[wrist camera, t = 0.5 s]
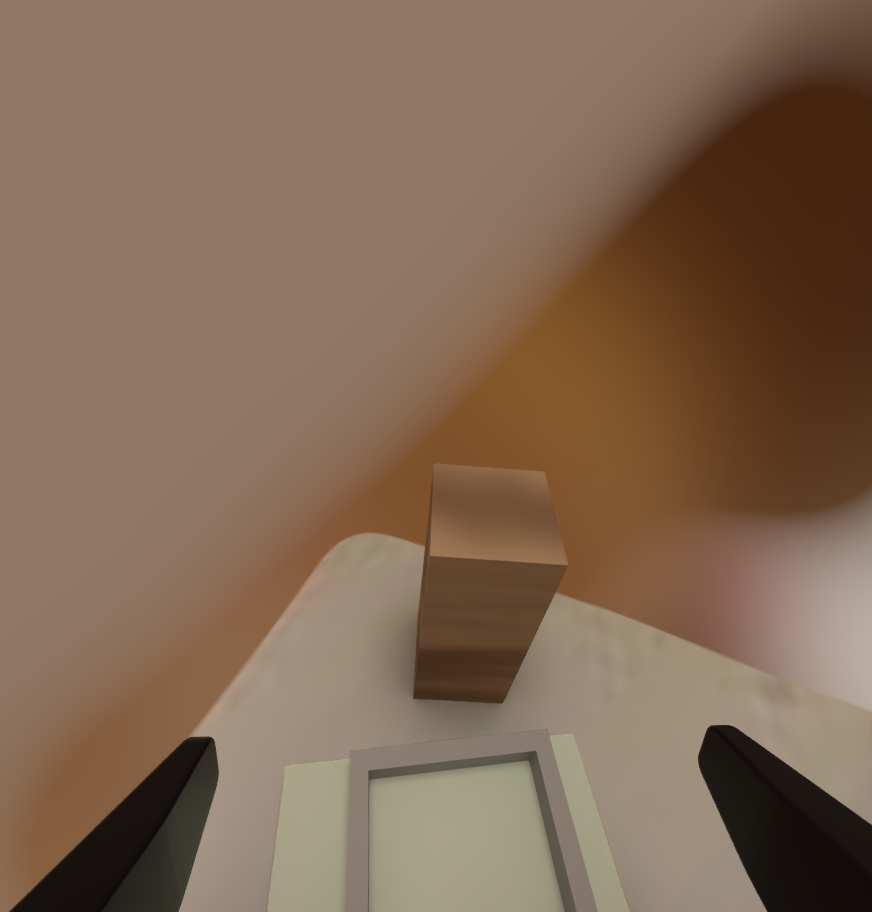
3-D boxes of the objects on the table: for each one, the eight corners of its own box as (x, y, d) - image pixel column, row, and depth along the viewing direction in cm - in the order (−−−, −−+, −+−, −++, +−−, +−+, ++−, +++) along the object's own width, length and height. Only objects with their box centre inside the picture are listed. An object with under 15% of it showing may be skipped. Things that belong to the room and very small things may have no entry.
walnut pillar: (502, 703, 24) (568, 565, 15) (413, 698, 23) (430, 555, 15) (495, 619, 27) (544, 471, 19) (418, 614, 27) (433, 463, 19)
